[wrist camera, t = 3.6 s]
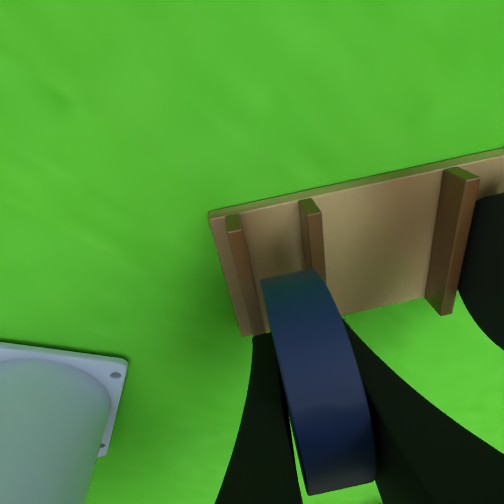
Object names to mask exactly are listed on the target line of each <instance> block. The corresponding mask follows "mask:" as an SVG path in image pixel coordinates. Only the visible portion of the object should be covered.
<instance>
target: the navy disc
mask: <svg viewBox="0 0 504 504" xmlns="http://www.w3.org/2000/svg"><path fill="white" fill-rule="evenodd" d="M260 284H261V289H262V294H263V299H264V304H265V309H266V313H267V318H268V323H269V327H270V332H271V334H272V338H273V343H274V347H275V351H276V356H277V360H278V365H279V369H280V374H281V379H282V384H283V388H284V393H285V398H286V403H287V407H288V413H289V418H290V423H291V427H292V432H293V436H294V441H295V445H296V449H297V454H298V458H299V463H300V467H301V471H302V476H303V480H304V484H305V488H306V492H307V494H308V495H309V496H312V495H316V494H321V493H325V492H330V491H334V490H339V489H343V488H348V487H353V486H357V485H362V484H366V483H371V482H373V481H374V479H375V478H376V472H377V457H376V446H375V439H374V432H373V427H372V421H371V416H370V412H369V407H368V403H367V398H366V394H365V390H364V387H363V383H362V379H361V376H360V372H359V368H358V365H357V362H356V358H355V355H354V352H353V349H352V346H351V343H350V340H349V337H348V334H347V331H346V329H345V326H344V323H343V321H342V318H341V315H340V313H339V311H338V308H337V306H336V304H335V301H334V299H333V297H332V295H331V293H330V291H329V289H328V287H327V285H326V283H325V282H324V280H323V279H322V277H321V276H320V275H319V273H318V272H317V271H316V270H314V269H306V270H302V271H297V272H293V273H288V274H283V275H279V276H274V277H270V278H265V279H261V280H260Z"/></svg>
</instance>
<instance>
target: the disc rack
mask: <svg viewBox="0 0 504 504" xmlns="http://www.w3.org/2000/svg"><path fill="white" fill-rule="evenodd" d="M499 193H504V148H501V149H496V150H491V151H487V152H482V153H478V154H473V155H468V156H464V157H459V158H454V159H450V160H445V161H441V162H436V163H431V164H427V165H422V166H417V167H413V168H408V169H403V170H399V171H394V172H390V173H385V174H380V175H376V176H371V177H366V178H362V179H357V180H353V181H348V182H343V183H339V184H334V185H329V186H325V187H320V188H315V189H311V190H306V191H302V192H297V193H292V194H288V195H283V196H278V197H274V198H269V199H265V200H260V201H255V202H251V203H246V204H241V205H237V206H232V207H227V208H223V209H218V210H214V211H209V212H208V221H209V225H210V228H211V232H212V235H213V239H214V242H215V246H216V249H217V253H218V256H219V260H220V263H221V267H222V270H223V274H224V277H225V281H226V284H227V288H228V291H229V295H230V298H231V302H232V305H233V309H234V312H235V316H236V319H237V323H238V326H239V330H240V333H241V336H242V337H243V336H248V335H253V337H254V336H256V335H260V334H265V333H266V331H270V327H269V323H268V318H267V313H266V309H265V304H264V299H263V294H262V289H261V284H260V280H261V279H265V278H270V277H274V276H279V275H283V274H288V273H293V272H297V271H302V270H306V269H314V270H316V271H317V272H318V273H319V275H320V276H321V277H322V279H323V280H324V282H325V283H326V285H327V287H328V289H329V291H330V293H331V295H332V297H333V299H334V301H335V304H336V306H337V308H338V311H339V313H340V315H345V314H350V313H354V312H359V311H364V310H368V309H373V308H378V307H382V306H387V305H391V304H396V303H401V302H405V301H410V300H415V299H419V298H424V297H425V299H426V300H427V301H428V302H429V304H430V305H431V306H432V307H433V308H434V309H435V310H436V312H437V313H438V314H439V315H440V316H443V315H448V314H451V313H452V310H453V305H454V301H455V296H456V291H457V290H458V288H457V287H458V282H459V277H460V273H461V268H462V263H463V259H464V254H465V249H466V244H467V240H468V235H469V230H470V226H471V221H472V216H473V212H474V207H475V202H476V201H477V200H479V199H481V198H483V197H486V196H490V195H494V194H499Z"/></svg>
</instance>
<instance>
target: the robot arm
mask: <svg viewBox="0 0 504 504" xmlns="http://www.w3.org/2000/svg"><path fill="white" fill-rule="evenodd" d="M342 321H343V323H344V326H345V329H346V331H347V334H348V337H349V340H350V343H351V346H352V349H353V352H354V355H355V358H356V362H357V365H358V368H359V372H360V376H361V379H362V383H363V387H364V390H365V394H366V398H367V403H368V407H369V412H370V416H371V421H372V427H373V432H374V439H375V446H376V457H377V472H376V478H375V482H376V484H377V487H378V490H379V493H380V496H381V498H382V501H383V504H504V454H503V453H501V452H500V451H498V450H497V449H495V448H494V447H492V446H491V445H489V444H488V443H486V442H485V441H483V440H482V439H480V438H479V437H477V436H476V435H474V434H473V433H471V432H470V431H468V430H467V429H465V428H464V427H462V426H461V425H460V424H458V423H457V422H456V421H454V420H453V419H451V418H450V417H449V416H447V415H446V414H445V413H443V412H442V411H441V410H439V409H438V408H437V407H435V406H434V405H433V404H432V403H430V402H429V401H428V400H427V399H425V398H424V397H423V396H422V395H420V394H419V393H418V392H417V391H416V390H414V389H413V388H412V387H411V386H410V385H408V384H407V383H406V382H405V381H404V380H403V379H402V378H400V377H399V376H398V375H397V374H396V373H395V372H394V371H393V370H392V369H391V368H389V367H388V366H387V365H386V364H385V363H384V362H383V361H382V360H381V359H380V358H379V357H378V356H377V355H376V354H375V353H374V352H373V351H372V350H371V349H370V348H369V347H368V346H367V345H366V344H365V343H364V342H363V341H362V340H361V339H360V338H359V337H358V335H357V334H356V333H355V332H354V331H353V330H352V329H351V328H350V326H349V325H348V324H347V323H346V322H345V321H344V319H342ZM252 343H253V351H252V364H251V373H250V379H249V385H248V392H247V397H246V402H245V406H244V411H243V415H242V419H241V424H240V428H239V431H238V435H237V439H236V442H235V446H234V449H233V452H232V456H231V459H230V462H229V465H228V468H227V471H226V474H225V477H224V480H223V483H222V485H221V488H220V491H219V494H218V496H217V499H216V502H215V504H303V502H302V497H301V492H300V488H299V483H298V477H297V471H296V464H295V457H294V450H293V442H292V435H291V428H290V420H289V413H288V407H287V403H286V398H285V393H284V388H283V384H282V379H281V374H280V369H279V365H278V360H277V356H276V351H275V347H274V343H273V338H272V334H271V332H269V333H265V334H260V335H256V336H254V337H253V338H252ZM127 368H128V362H127V361H126V360H124V359H122V358H117V357H109V356H102V355H94V354H87V353H79V352H72V351H65V350H57V349H50V348H42V347H35V346H28V345H20V344H13V343H5V342H0V504H85V500H86V497H87V493H88V489H89V486H90V482H91V478H92V475H93V471H94V467H95V464H96V460H97V457H103V456H105V455H106V454H107V452H108V448H109V444H110V439H111V435H112V431H113V427H114V423H115V418H116V414H117V410H118V406H119V402H120V398H121V393H122V389H123V385H124V381H125V377H126V372H127Z"/></svg>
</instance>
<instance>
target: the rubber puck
mask: <svg viewBox="0 0 504 504" xmlns="http://www.w3.org/2000/svg"><path fill="white" fill-rule="evenodd" d="M457 288H458V291H459V293H460V296H461V298H462V300H463V302H464V304H465V306H466V308H467V310H468V312H469V313H470V315H471V316H472V318H473V319H474V321H475V322H476V323H477V325H478V326H479V327H480V329H481V330H482V331H483V332H484V333H485V334H486V335H487V336H488V337H489V338H490V339H491V340H492V341H493V342H494V343H495V344H496V345H498V346H499V347H500V348H501V349H503V350H504V193H499V194H494V195H490V196H486V197H483V198H481V199H479V200H477V201H476V202H475V207H474V212H473V216H472V221H471V226H470V230H469V235H468V240H467V244H466V249H465V254H464V259H463V263H462V268H461V273H460V277H459V282H458V287H457Z"/></svg>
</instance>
